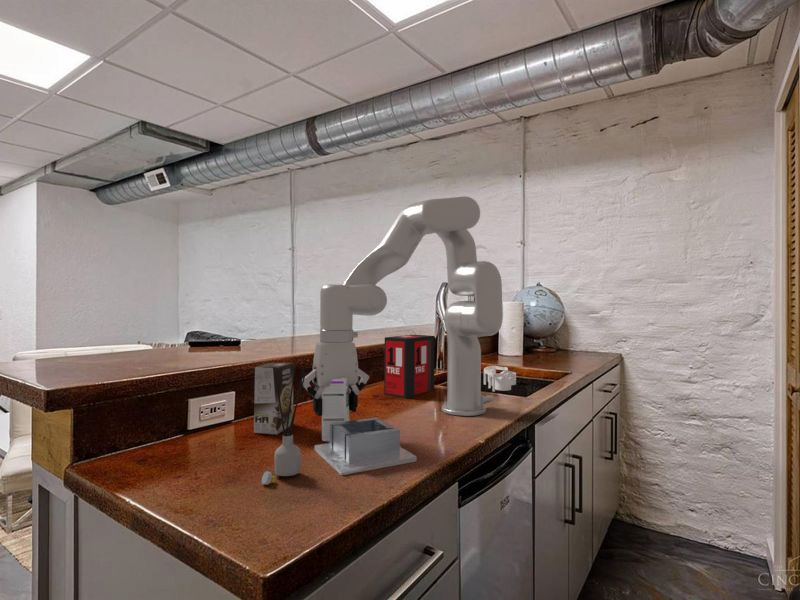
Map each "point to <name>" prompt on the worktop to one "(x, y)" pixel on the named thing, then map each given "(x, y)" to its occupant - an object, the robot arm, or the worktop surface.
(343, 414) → the syrup box
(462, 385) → the robot arm
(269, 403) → the coffee box
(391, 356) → the cleaning product box
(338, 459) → the square socket
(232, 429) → the worktop surface
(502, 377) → the skeletal toy car
